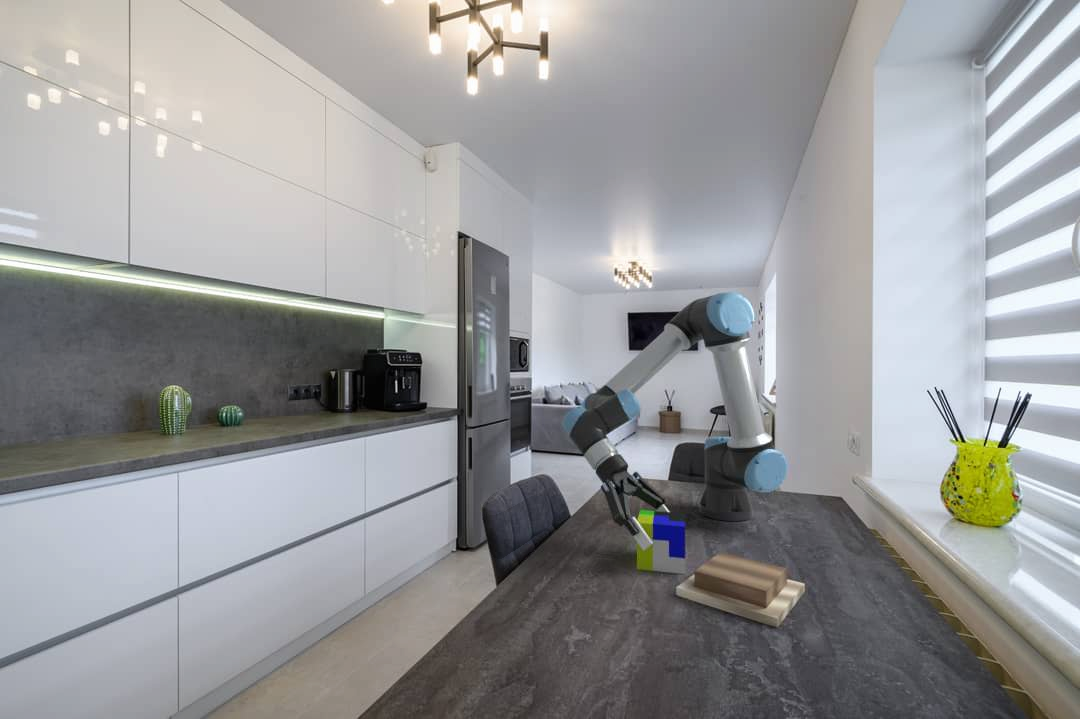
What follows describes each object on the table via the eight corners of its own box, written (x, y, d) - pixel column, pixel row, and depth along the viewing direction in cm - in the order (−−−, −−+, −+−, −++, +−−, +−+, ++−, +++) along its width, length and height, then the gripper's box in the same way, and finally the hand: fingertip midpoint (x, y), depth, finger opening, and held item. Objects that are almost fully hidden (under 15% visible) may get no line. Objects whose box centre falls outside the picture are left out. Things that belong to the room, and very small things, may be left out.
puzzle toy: (685, 574, 105) (685, 526, 105) (636, 569, 107) (636, 522, 107) (684, 557, 114) (684, 513, 114) (639, 552, 117) (639, 510, 117)
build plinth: (713, 567, 108) (713, 546, 108) (804, 591, 96) (804, 568, 96) (676, 595, 95) (676, 571, 95) (777, 627, 83) (777, 600, 83)
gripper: (624, 464, 131) (677, 534, 121) (566, 479, 113) (623, 564, 102) (642, 446, 128) (698, 517, 118) (585, 459, 109) (646, 544, 99)
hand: (663, 539), depth 110 cm, fingers open, 13 cm apart
